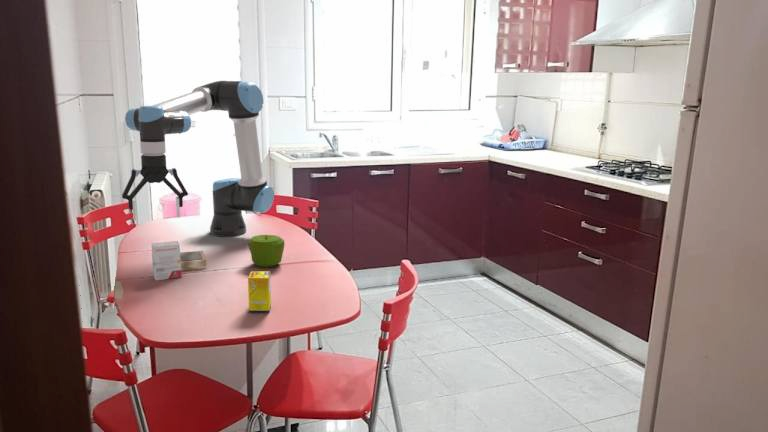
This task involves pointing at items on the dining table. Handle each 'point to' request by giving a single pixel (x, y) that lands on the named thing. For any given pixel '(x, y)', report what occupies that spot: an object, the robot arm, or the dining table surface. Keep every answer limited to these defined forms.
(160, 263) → the ink box
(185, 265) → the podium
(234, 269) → the dining table surface
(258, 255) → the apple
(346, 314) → the dining table surface
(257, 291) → the supplement box
